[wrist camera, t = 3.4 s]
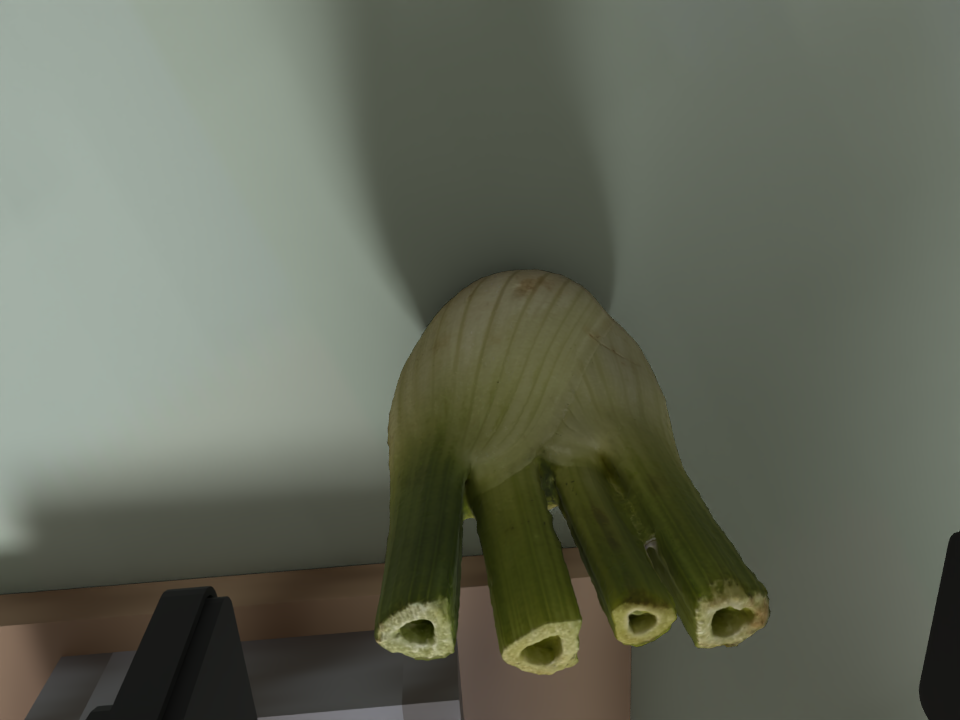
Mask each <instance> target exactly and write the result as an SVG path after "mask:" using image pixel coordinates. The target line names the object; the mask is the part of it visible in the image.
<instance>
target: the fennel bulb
mask: <svg viewBox="0 0 960 720" xmlns="http://www.w3.org/2000/svg"><path fill="white" fill-rule="evenodd" d="M387 443H388V445H389V470H390V506H389V509H390V527H389V535H388V538H387V551H386V556H385V567H384V574H383V580H382V586H381V593H380V598H379V604H378V607H377V613H376V618H375V629H374V638H375V640H376V642H377V643H378V644H379V645H380V646H381V647H383V648H384V649H386V650H388V651H389V652H391V653H396V652H398V653H403V654H404V655H406V656H409V657H412V658H414V659H415V660H426V661H429V660H433V659H439V658H446V657H447V656H448V655H450V654H452V653H454V652H455V650H454V648H455V645H456V637H457V630H458V618H459V613H458V612H459V608H460V586H461V582H460V581H461V570H462V568H461V562H462V538H463V527H462V525H463V520H465V519H468V518H475V519H476V521H477V533H478V535H479V539H480V543H481V547H482V551H483V556H484V561H485V566H486V572H487V580H488V587H489V590H490V591H489V592H490V599H491V605H492V607H493V616H494V621H495V625H494V626H495V628H496V634H497V638H498V643H499V650H500V653H501V656H502V659H503V660H504V661H505V662H506V663H507V664H510V665H512V666H515V667H517V668H519V669H520V670H522V671H526V672H530V673H535V674H538V675H542V674H545V675H552V674H554V673H555V672H556V671H559V670H563V669H564V668H570V667H573V666H574V665H576V664H577V663H578V662H579V660H578V657H577V652H578V650H579V636H578V634H579V631H580V629H581V624H582V616H581V614H580V610H579V606H578V603H577V598H576V596H575V592H574V589H573V586H572V583H571V579H570V575H569V571H568V568H567V565H566V563H565V561H564V557H563V552H562V546H561V542H559V539H558V537H557V535H556V533H555V531H554V529H553V523H552V522H553V517H552V515H551V513H550V512H549V511H548V510H550V509H552V508H554V507H556V506H558V507H559V509H560V510H561V512H562V514H563V516H564V518H565V519H566V520H567V524H568V527H569V529H570V530H571V535H572V537H573V539H574V542H575V544H576V546H577V547H578V549H579V553H580V557H581V560H582V562H583V564H584V566H585V568H586V570H587V573H588V575H589V577H590V578H591V582H592V584H593V585H594V588H595V590H596V592H597V598H598V600H599V604H600V606H601V608H602V610H603V612H604V613H605V615H606V616H607V619H608V622H609V624H610V627H611V628H612V631H613V633H614V636H615V638H616V639H617V640H618V641H621V642H622V643H623V644H624V645H632V646H635V647H639V646H643V645H645V644H647V643H649V642H652V641H655V640H656V639H657V638H659V637H660V636H662V635H663V634H665V633H666V632H667V631H669V630H670V628H671V624H672V623H673V622H674V621H675V620H676V619H677V614H678V616H679V617H680V619H681V621H682V623H683V625H684V627H685V629H686V631H687V632H688V634H689V635H690V637H691V638H692V640H693V642H694V644H695V646H696V647H697V648H713V647H716V646H722V645H725V646H726V647H732V646H738V644H739V643H741V642H743V641H744V640H745V639H746V638H748V637H750V636H751V635H753V634H754V633H755V632H756V631H757V630H759V629H761V628H763V627H765V625H766V624H767V622H768V618H769V616H770V609H769V598H768V596H767V594H768V592H767V590H766V588H765V587H764V585H763V584H762V583H761V582H759V581H758V580H757V578H756V576H755V574H754V573H753V572H752V571H751V570H750V569H749V568H748V567H747V566H746V565H745V564H744V563H743V561H742V558H741V557H740V555H739V553H738V552H737V550H736V549H735V547H734V545H733V544H732V543H731V542H730V540H729V539H728V538H727V537H726V535H725V533H724V532H723V531H722V530H721V528H720V527H719V525H718V524H717V523H716V521H715V520H714V519H713V517H712V515H711V513H710V512H709V509H708V507H706V504H705V503H704V501H703V500H702V498H701V496H700V493H699V492H698V491H697V490H696V488H695V487H694V485H693V484H692V482H691V480H690V478H689V477H688V476H687V474H686V472H685V470H684V468H683V466H682V462H681V459H680V457H679V454H678V451H677V447H676V444H675V440H674V437H673V432H672V427H671V423H670V418H669V414H668V410H667V407H666V400H665V397H664V395H663V393H662V390H661V388H660V386H659V384H658V382H657V380H656V377H655V375H654V373H653V371H652V369H651V367H650V365H649V363H648V361H647V360H646V358H645V356H644V354H643V352H642V350H641V349H640V347H639V345H638V344H637V343H636V342H635V341H634V339H633V338H632V337H631V336H630V335H629V334H628V333H627V332H626V331H625V330H624V329H623V328H622V327H621V326H620V325H619V324H618V323H617V322H616V321H615V320H614V319H612V318H611V317H610V316H609V314H608V313H607V312H606V311H605V310H604V309H603V307H602V306H601V305H600V304H599V303H598V302H597V300H596V299H595V298H594V297H593V296H592V294H591V293H590V292H589V291H587V290H586V289H585V288H584V287H582V286H581V285H580V284H577V283H575V282H574V281H572V280H570V279H569V278H567V277H565V276H563V275H559V274H555V273H551V272H547V271H543V270H537V269H531V270H513V271H504V272H500V273H496V274H492V275H490V276H486V277H483V278H480V279H479V280H477V281H475V282H473V283H472V284H470V285H469V286H468V287H466V288H464V289H462V290H461V291H460V292H459V293H458V294H457V295H456V296H455V297H454V298H452V299H451V300H450V301H448V302H447V304H445V306H443V307H442V308H441V310H440V311H439V312H438V313H437V314H436V315H435V317H434V318H433V320H432V321H431V323H430V324H429V325H428V326H427V328H426V330H425V331H424V333H423V334H422V336H421V338H420V340H419V341H418V342H417V344H416V346H415V347H414V349H413V351H412V353H411V354H410V356H409V358H408V359H407V361H406V363H405V365H404V367H403V369H402V371H401V374H400V377H399V380H398V383H397V386H396V390H395V394H394V398H393V401H392V406H391V410H390V413H389V425H388V442H387Z"/></svg>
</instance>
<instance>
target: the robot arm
mask: <svg viewBox="0 0 960 720" xmlns="http://www.w3.org/2000/svg"><path fill="white" fill-rule="evenodd" d="M919 696H920V701H921V705H922V707H923V710H924V712H925V714H926V716H927V717H928V719H929V720H960V531H959V532H956V533H954V534H953V535H952V536H951V537H950V540H949V543H948V548H947V553H946V558H945V562H944V567H943V572H942V577H941V582H940V587H939V592H938V597H937V602H936V606H935V611H934V616H933V621H932V626H931V631H930V636H929V641H928V646H927V651H926V655H925V660H924V665H923V670H922V675H921V680H920V685H919ZM86 720H258V719H257V714H256V709H255V705H254V700H253V696H252V691H251V687H250V682H249V677H248V673H247V668H246V664H245V659H244V655H243V650H242V645H241V641H240V636H239V632H238V627H237V623H236V618H235V613H234V609H233V605H232V601H231V599H230V597H228V596H223V597H217V594H216V591H215V589H214V588H213V587H212V586H203V587H192V588H180V589H169V590H166V591H164V592H163V594H162V596H161V597H160V599H159V602H158V604H157V606H156V608H155V611H154V613H153V615H152V617H151V620H150V622H149V624H148V626H147V629H146V631H145V633H144V635H143V638H142V640H141V642H140V644H139V647H138V649H137V651H136V653H135V656H134V658H133V660H132V662H131V665H130V667H129V669H128V671H127V674H126V676H125V678H124V681H123V683H122V685H121V687H120V690H119V692H118V694H117V696H116V699H115V701H114V703H113V705H104V706H97V707H96V708H95V709H93V710H92V711H91V712H90V713H89V715H88V717H87V718H86Z"/></svg>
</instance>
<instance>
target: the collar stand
mask: <svg viewBox="0 0 960 720" xmlns="http://www.w3.org/2000/svg"><path fill="white" fill-rule="evenodd" d="M562 552H563V557H564V561H565V563H566V565H567V568H568V571H569V575H570V579H571V583H572V586H573V589H574V592H575V596H576V598H577V603H578V606H579V610H580V614H581V616H582V624H581V629H580V631H579V634H578V636H579V650H578V652H577V657H578V660H579V662H578V663H577V664H576V665H574V666H573V667H570V668H564V669H563V670H559V671H556V672H555V673H554V674H552V675H545V674H542V675H538V674H535V673H530V672H526V671H522V670H520V669H519V668H517V667H515V666H512V665H510V664H507V663H506V662H505V661H504V660H503V659H502V656H501V653H500V650H499V643H498V638H497V634H496V628H495V626H494V625H495V621H494V616H493V607H492V605H491V599H490V592H489V591H490V590H489V587H488V580H487V572H486V566H485V561H484V556H483V555H478V556H466V557H462V562H461V568H462V570H461V581H460V582H461V586H460V608H459V612H458V613H459V618H458V630H457V637H456V645H455V648H454V650H455V652H454V653H452V654H450V655H448V656H447V657H446V658H439V659H433V660H429V661H426V660H415V659H414V658H412V657H409V656H406V655H404V654H403V653H398V652H396V653H391V652H389V651H388V650H386V649H384V648H383V647H381V646H380V645H379V644H378V643H377V642H376V640H375V638H374V629H375V618H376V613H377V607H378V604H379V598H380V593H381V586H382V580H383V574H384V567H385V563H381V564H369V565H357V566H345V567H333V568H320V569H308V570H296V571H284V572H272V573H260V574H248V575H236V576H223V577H211V578H199V579H187V580H175V581H163V582H151V583H139V584H127V585H114V586H102V587H90V588H78V589H66V590H54V591H42V592H30V593H17V594H5V595H0V720H86V718H87V717H88V715H89V713H90V712H91V711H92V710H93V709H95V708H96V707H97V706H104V705H113V703H114V701H115V699H116V696H117V694H118V692H119V690H120V687H121V685H122V683H123V681H124V678H125V676H126V674H127V671H128V669H129V667H130V665H131V662H132V660H133V658H134V656H135V653H136V651H137V649H138V647H139V644H140V642H141V640H142V638H143V635H144V633H145V631H146V629H147V626H148V624H149V622H150V620H151V617H152V615H153V613H154V611H155V608H156V606H157V604H158V602H159V599H160V597H161V596H162V594H163V592H164V591H166V590H169V589H180V588H192V587H203V586H212V587H213V588H214V589H215V591H216V594H217V597H223V596H228V597H230V599H231V601H232V605H233V609H234V613H235V618H236V623H237V627H238V632H239V636H240V641H241V645H242V650H243V655H244V659H245V664H246V668H247V673H248V677H249V682H250V687H251V691H252V696H253V700H254V705H255V709H256V714H257V719H258V720H630V703H631V645H624V644H623V643H622V642H621V641H618V640H617V639H616V638H615V636H614V633H613V631H612V628H611V627H610V624H609V622H608V619H607V616H606V615H605V613H604V612H603V610H602V608H601V606H600V604H599V600H598V598H597V592H596V590H595V588H594V585H593V584H592V582H591V578H590V577H589V575H588V573H587V570H586V568H585V566H584V564H583V562H582V560H581V557H580V553H579V549H578V547H575V548H563V549H562Z"/></svg>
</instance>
